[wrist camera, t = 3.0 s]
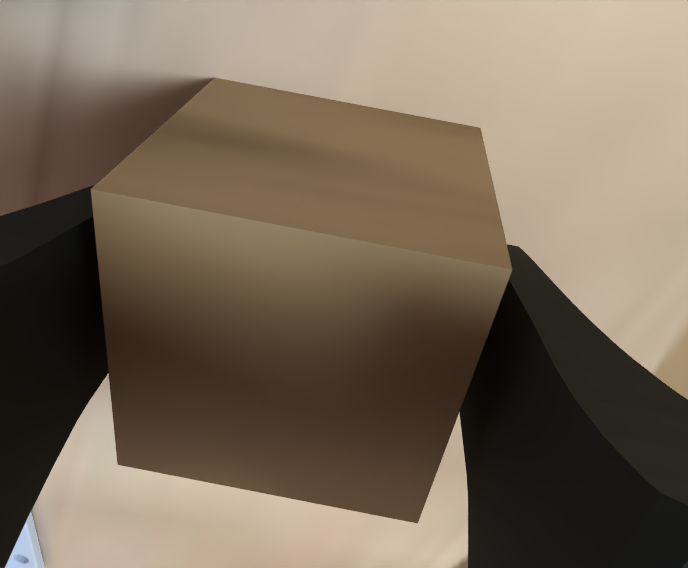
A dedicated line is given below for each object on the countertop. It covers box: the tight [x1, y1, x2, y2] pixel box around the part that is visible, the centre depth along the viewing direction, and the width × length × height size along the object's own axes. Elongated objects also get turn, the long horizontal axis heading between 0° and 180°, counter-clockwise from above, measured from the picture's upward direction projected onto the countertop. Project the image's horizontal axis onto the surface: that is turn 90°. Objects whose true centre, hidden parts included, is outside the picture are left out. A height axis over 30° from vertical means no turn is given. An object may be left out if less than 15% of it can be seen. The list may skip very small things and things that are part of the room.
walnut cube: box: [91, 78, 512, 523], centre depth 10 cm, size 5×5×5 cm
